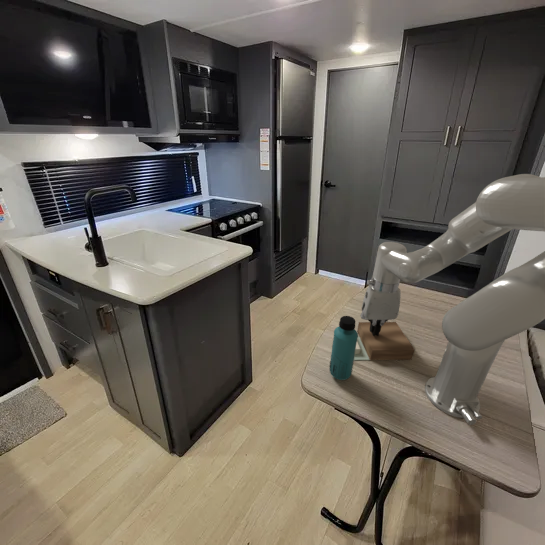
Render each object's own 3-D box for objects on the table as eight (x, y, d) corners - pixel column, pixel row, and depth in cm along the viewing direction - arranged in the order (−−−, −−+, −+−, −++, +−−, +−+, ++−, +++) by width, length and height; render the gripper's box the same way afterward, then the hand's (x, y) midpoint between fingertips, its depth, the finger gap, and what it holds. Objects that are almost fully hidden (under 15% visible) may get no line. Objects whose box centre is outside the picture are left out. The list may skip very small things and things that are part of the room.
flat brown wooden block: (411, 359, 88) (414, 349, 87) (370, 360, 88) (372, 350, 86) (393, 331, 101) (395, 322, 99) (357, 331, 101) (358, 322, 99)
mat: (369, 360, 88) (369, 359, 88) (346, 360, 88) (347, 359, 88) (358, 337, 98) (359, 336, 98) (338, 337, 98) (338, 336, 98)
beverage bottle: (355, 376, 82) (366, 319, 73) (342, 388, 78) (351, 330, 69) (336, 363, 87) (344, 308, 78) (323, 375, 83) (330, 318, 74)
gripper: (363, 290, 81) (354, 340, 89) (415, 290, 81) (401, 340, 89) (356, 277, 87) (348, 326, 96) (404, 277, 88) (392, 326, 96)
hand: (374, 333), depth 92 cm, fingers closed
